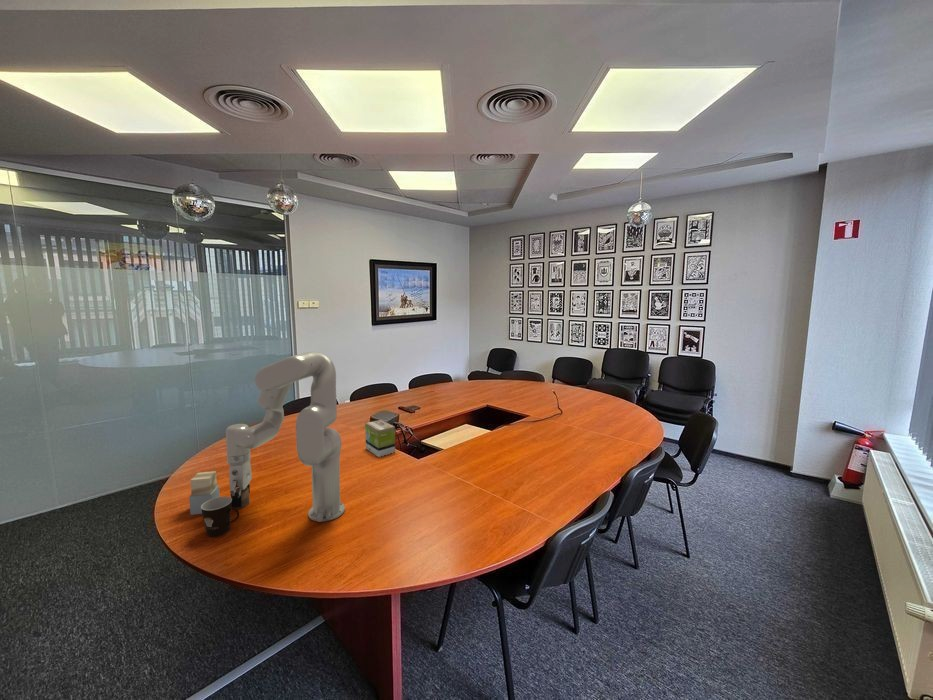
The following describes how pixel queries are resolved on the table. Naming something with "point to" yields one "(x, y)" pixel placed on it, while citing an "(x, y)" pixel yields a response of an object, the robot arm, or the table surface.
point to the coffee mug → (217, 515)
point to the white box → (201, 501)
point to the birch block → (203, 483)
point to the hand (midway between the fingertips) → (241, 500)
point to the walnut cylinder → (244, 497)
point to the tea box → (380, 437)
